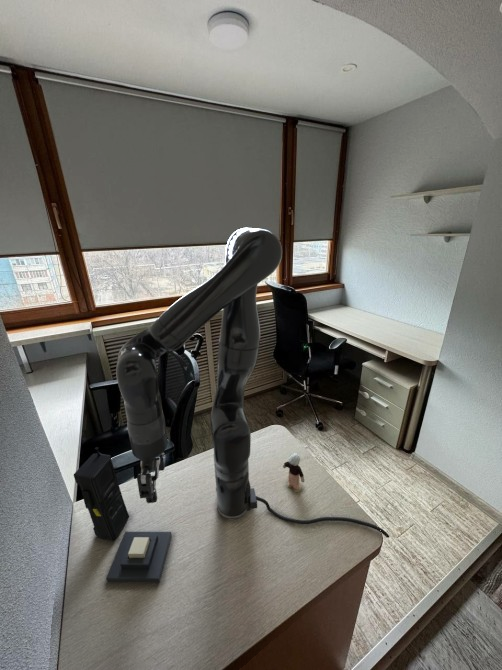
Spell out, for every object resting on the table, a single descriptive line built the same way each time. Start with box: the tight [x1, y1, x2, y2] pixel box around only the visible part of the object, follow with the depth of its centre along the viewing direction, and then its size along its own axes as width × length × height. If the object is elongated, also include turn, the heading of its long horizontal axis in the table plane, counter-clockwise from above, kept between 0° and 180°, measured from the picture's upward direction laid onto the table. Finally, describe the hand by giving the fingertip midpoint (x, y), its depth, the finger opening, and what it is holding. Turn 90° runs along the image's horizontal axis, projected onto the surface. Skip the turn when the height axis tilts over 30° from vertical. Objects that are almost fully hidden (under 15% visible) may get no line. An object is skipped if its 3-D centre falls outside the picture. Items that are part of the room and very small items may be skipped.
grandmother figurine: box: [282, 453, 305, 493], centre depth 81 cm, size 8×4×13 cm, turn 58°
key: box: [128, 537, 150, 558], centre depth 64 cm, size 4×4×2 cm
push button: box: [105, 531, 173, 584], centre depth 65 cm, size 12×10×4 cm
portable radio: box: [73, 446, 130, 542], centre depth 67 cm, size 8×6×25 cm
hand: (156, 484), depth 64 cm, fingers open, 8 cm apart
